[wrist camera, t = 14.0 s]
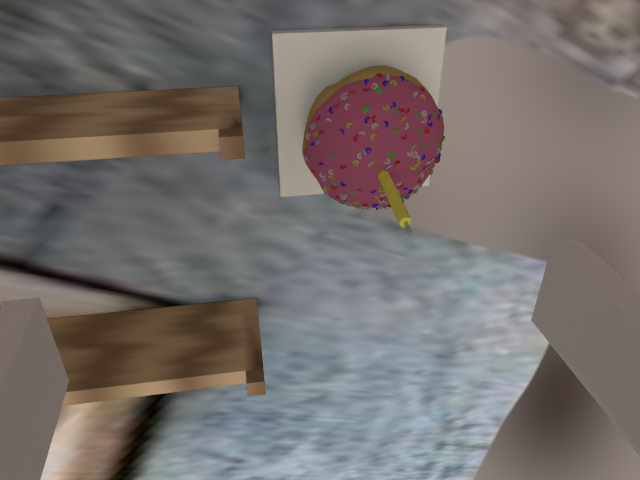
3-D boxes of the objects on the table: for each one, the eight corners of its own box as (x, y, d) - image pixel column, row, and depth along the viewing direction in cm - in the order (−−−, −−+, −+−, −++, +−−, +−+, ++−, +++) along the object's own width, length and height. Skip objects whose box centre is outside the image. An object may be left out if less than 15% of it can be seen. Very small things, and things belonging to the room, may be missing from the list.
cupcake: (421, 164, 38) (491, 254, 27) (305, 187, 37) (333, 287, 27) (416, 40, 33) (498, 93, 23) (283, 64, 33) (307, 129, 22)
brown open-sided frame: (-33, 339, 40) (-93, 439, 33) (-145, 104, 31) (-268, 167, 23) (257, 309, 43) (265, 394, 36) (238, 86, 34) (243, 135, 26)
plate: (279, 191, 38) (280, 197, 37) (271, 30, 32) (272, 33, 32) (424, 179, 40) (428, 185, 39) (441, 24, 34) (446, 27, 33)
